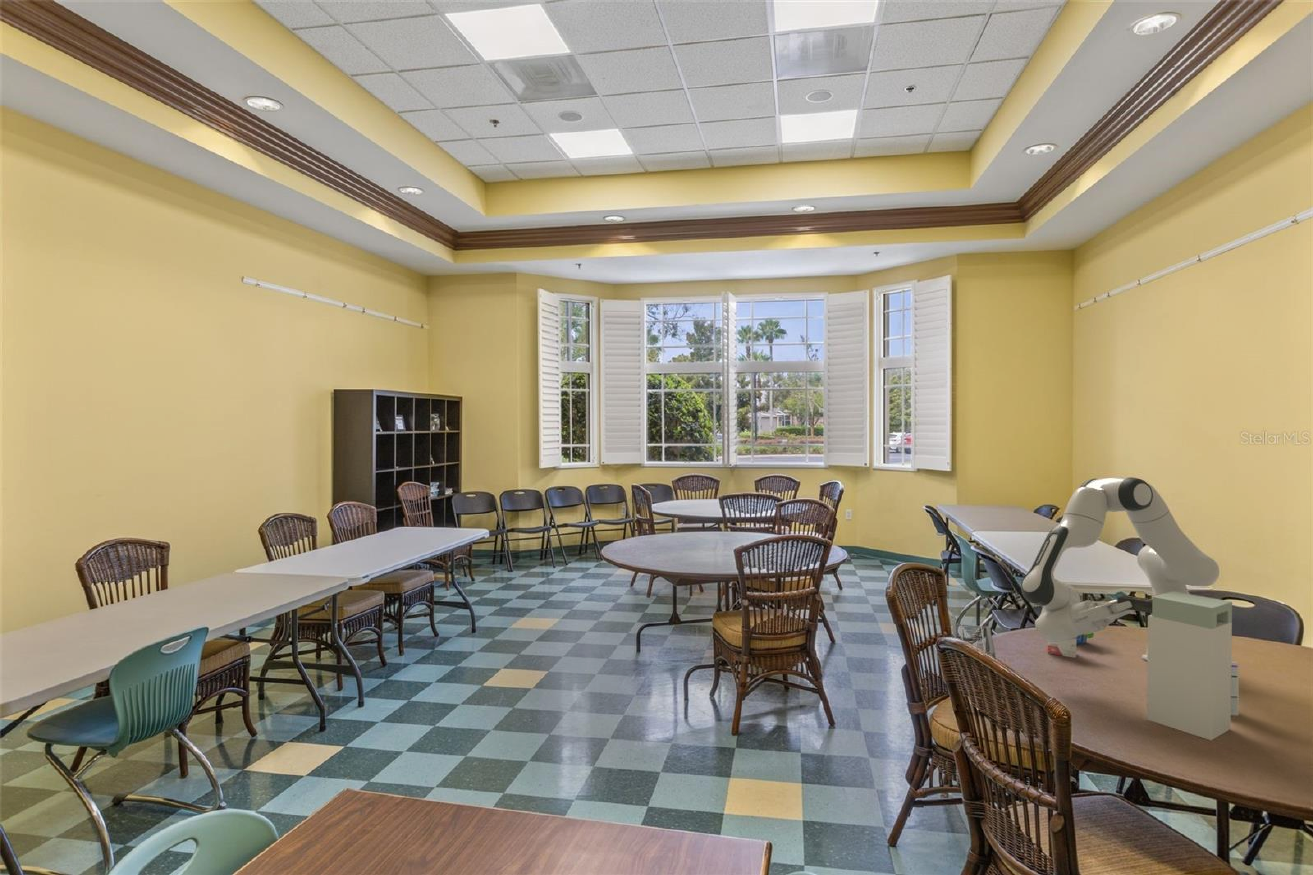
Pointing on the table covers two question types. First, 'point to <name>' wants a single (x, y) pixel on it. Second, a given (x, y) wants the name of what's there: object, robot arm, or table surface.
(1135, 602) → the domino bar
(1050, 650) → the ink cartridge box
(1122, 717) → the table surface
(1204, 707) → the slot stand
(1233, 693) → the syrup box
